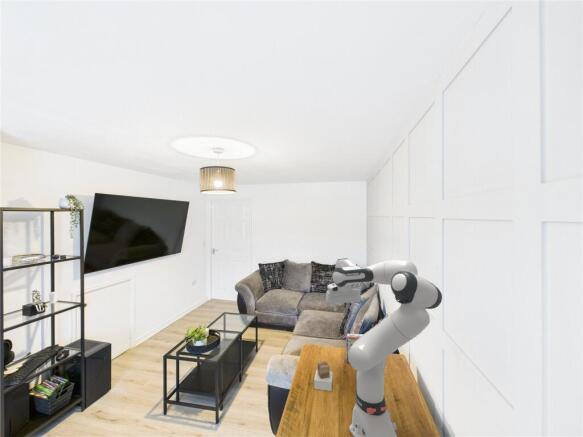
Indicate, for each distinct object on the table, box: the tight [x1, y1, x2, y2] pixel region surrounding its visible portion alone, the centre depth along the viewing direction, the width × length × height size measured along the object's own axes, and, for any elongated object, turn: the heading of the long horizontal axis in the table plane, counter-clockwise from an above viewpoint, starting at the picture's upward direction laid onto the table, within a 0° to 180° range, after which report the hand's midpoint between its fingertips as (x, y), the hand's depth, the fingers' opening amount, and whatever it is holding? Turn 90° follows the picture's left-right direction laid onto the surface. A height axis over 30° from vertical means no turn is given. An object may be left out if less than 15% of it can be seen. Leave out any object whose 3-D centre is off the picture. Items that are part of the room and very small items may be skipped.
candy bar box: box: [345, 333, 365, 364], centre depth 154 cm, size 11×5×16 cm, turn 84°
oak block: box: [317, 360, 331, 379], centre depth 133 cm, size 5×5×6 cm
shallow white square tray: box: [313, 369, 333, 392], centre depth 133 cm, size 9×9×5 cm
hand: (343, 310), depth 141 cm, fingers open, 8 cm apart
